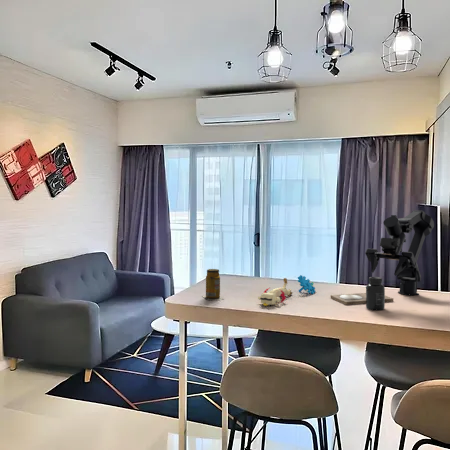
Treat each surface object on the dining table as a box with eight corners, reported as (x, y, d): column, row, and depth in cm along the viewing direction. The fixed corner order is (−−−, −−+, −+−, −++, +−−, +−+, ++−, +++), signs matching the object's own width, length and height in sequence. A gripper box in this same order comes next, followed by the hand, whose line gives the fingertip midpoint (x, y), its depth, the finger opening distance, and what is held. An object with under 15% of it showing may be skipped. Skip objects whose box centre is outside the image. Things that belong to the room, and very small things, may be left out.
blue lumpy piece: (308, 292, 188) (296, 274, 193) (299, 300, 191) (287, 282, 196) (321, 291, 197) (308, 274, 202) (312, 299, 199) (300, 282, 204)
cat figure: (275, 296, 194) (252, 304, 172) (276, 276, 194) (253, 282, 172) (296, 299, 190) (276, 307, 168) (297, 278, 190) (277, 284, 168)
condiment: (218, 295, 191) (218, 268, 190) (224, 299, 183) (224, 271, 182) (202, 296, 188) (201, 268, 187) (208, 301, 180) (208, 272, 179)
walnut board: (376, 294, 191) (376, 291, 191) (393, 301, 180) (393, 298, 179) (330, 298, 185) (330, 294, 185) (345, 304, 174) (345, 301, 174)
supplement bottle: (384, 307, 170) (385, 276, 169) (384, 311, 164) (385, 279, 163) (365, 305, 173) (366, 275, 172) (365, 310, 166) (366, 278, 165)
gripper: (367, 229, 181) (354, 258, 174) (413, 231, 169) (402, 263, 161) (375, 246, 188) (363, 275, 180) (420, 250, 175) (409, 281, 168)
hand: (383, 273), depth 172 cm, fingers open, 9 cm apart
